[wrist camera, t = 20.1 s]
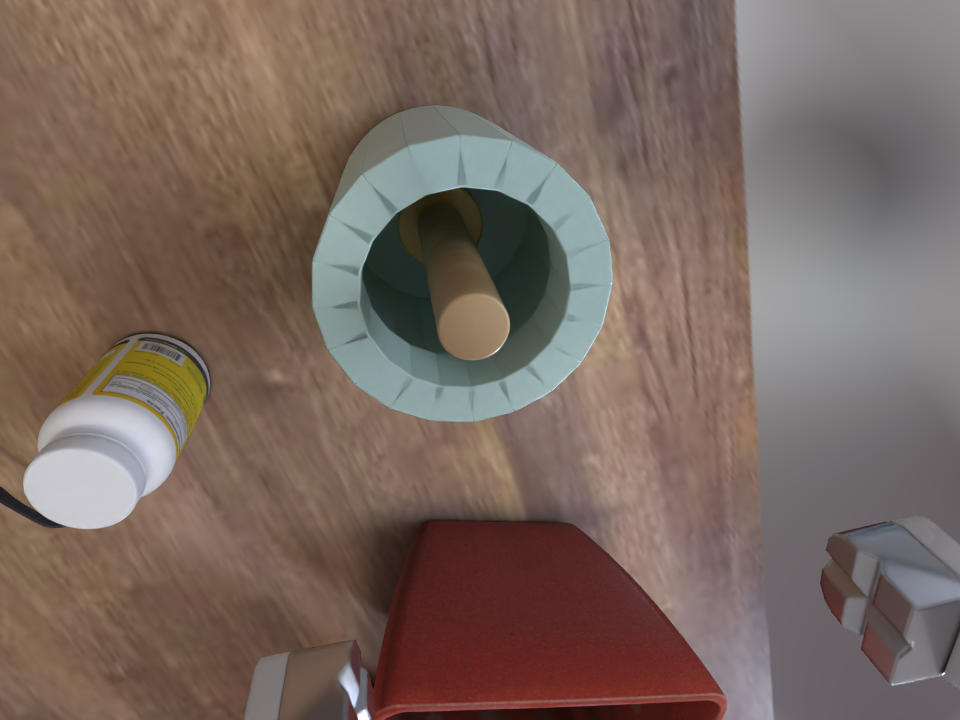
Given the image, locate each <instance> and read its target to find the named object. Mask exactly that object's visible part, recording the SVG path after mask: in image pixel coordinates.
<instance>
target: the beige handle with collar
mask: <svg viewBox="0 0 960 720" xmlns="http://www.w3.org/2000/svg"><path fill="white" fill-rule="evenodd" d="M397 219H398V232H399V236H400V239H401V242H402V244H403V246H404V247H405V249H406V250H407V252H408V253H409V254H410V255H411V256H412V257H414V258H415V259H416V260H418V261H419V262H421V263H423V264H424V265H425V270H426V276H427V281H428V286H429V292H430V297H431V302H432V307H433V313H434V318H435V323H436V329H437V334H438V338H439V341H440V343H441V344H442V346H443V347H444V349H445V350H446V351H447V352H449V353H450V354H451V355H453V356H455V357H457V358H460V359H463V360H480V359H484V358H486V357H489V356H491V355H492V354H494V353H495V352H497V351H498V350H499V349H500V348H501V347H502V345H503V344H504V342H505V341H506V339H507V337H508V334H509V330H510V319H509V315H508V313H507V310H506V308H505V306H504V304H503V302H502V300H501V298H500V296H499V294H498V292H497V289H496V287H495V285H494V283H493V281H492V279H491V277H490V275H489V273H488V271H487V268H486V266H485V264H484V262H483V260H482V258H481V256H480V254H479V252H478V250H477V247H476V246H477V244H478V243H479V240H480V238H481V234H482V227H483V223H482V215H481V212H480V209H479V207H478V205H477V203H476V201H475V200H474V198H473V196H472V195H471V193H470V192H469V190H468V189H467V188H466V187H460V188H455V189H451V190H446V191H442V192H438V193H433V194H429V195H426V196H424V197H422V198H421V199H419V200H417V201H416V202H414V203H412V204H411V205H409V206H408V207H406V208H404V209H403V210H401V211H399V212H398V213H397Z"/></svg>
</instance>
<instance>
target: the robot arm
mask: <svg viewBox="0 0 960 720" xmlns="http://www.w3.org/2000/svg"><path fill="white" fill-rule="evenodd" d="M826 551H827V552H828V553H829V554H830V556H831V557H832V559H831V560H830V561H829V562H828V563H827V564H826V565H825V567H824V568H823V569H822V574H821V581H820V584H821V588H822V592H823V595H824V599H825V601H826V603H827V605H828V606H829V608H830V610H831V612H832V613H833V615H834V616H835V617H836V618H837V620H838V621H839V622H840V623H841V625H842V626H845V627H846V628H848V629H850V630H852V631H854V632H856V633H858V634H859V635H860V644H861V650H862V651H863V652H864V653H865V655H866V656H867V657H868V658H869V659H870V661H871V662H872V663H873V664H874V666H875V667H876V668H877V669H878V670H879V672H880V673H881V674H882V675H883V677H884V678H885V679H886V680H887V682H888V683H889V684H890V685H891V686H893V685H897V684H902V683H907V682H912V681H917V680H922V679H927V678H931V677H937V676H942V675H943V677H942V679H944V680H945V681H947V682H948V683H950V684H952V685H953V686H955V687H956V688H958V689H960V545H959V544H958V543H957V542H956V541H954V540H953V539H952V538H951V537H950V536H949V535H947V534H946V533H945V532H944V531H942V529H940V528H939V527H938V526H937V525H935V524H934V523H933V522H932V521H931V520H929V519H927V518H925V517H922V516H920V515H918V516H913V517H908V518H903V519H900V520H895V521H890V522H882V523H878V524H874V525H869V526H865V527H861V528H857V529H852V530H849V531H844V532H840V533H835V534H833V535H832V536H831V537H830V538H829V539H828V543H827V547H826ZM244 720H375V705H374V695H373V689H372V684H371V680H370V677H369V674H368V671H367V669H365V668H363V667H361V651H360V649H359V646H358V644H357V641H356V639H355V640H349V641H344V642H338V643H333V644H328V645H323V646H317V647H312V648H307V649H301V650H296V651H291V652H286V653H281V654H277V655H272V656H267V657H262V658H260V659H259V661H258V663H257V665H256V667H255V669H254V673H253V678H252V682H251V687H250V692H249V696H248V701H247V706H246V710H245V715H244Z"/></svg>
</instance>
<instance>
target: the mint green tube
mask: <svg viewBox="0 0 960 720" xmlns="http://www.w3.org/2000/svg"><path fill="white" fill-rule="evenodd" d="M460 187H466V188H467V189H468V190H469V192H470V193H471V195H472V196H473V198H474V200H475V201H476V203H477V205H478V207H479V209H480V212H481V215H482V223H483V227H482V234H481V238H480V240H479V243H478V244H477V246H476V247H477V250H478V252H479V254H480V256H481V258H482V260H483V262H484V264H485V266H486V268H487V271H488V273H489V275H490V277H491V279H492V281H493V283H494V285H495V287H496V289H497V292H498V294H499V296H500V298H501V300H502V302H503V304H504V306H505V308H506V310H507V313H508V315H509V319H510V330H509V334H508V337H507V339H506V341H505V342H504V344H503V345H502V347H501V348H500V349H499V350H498V351H497V352H495V353H494V354H492V355H491V356H489V357H486V358H484V359H480V360H463V359H460V358H457V357H455V356H453V355H451V354H450V353H449V352H447V351H446V350H445V349H444V347H443V346H442V344H441V343H440V341H439V338H438V334H437V329H436V323H435V318H434V313H433V307H432V302H431V297H430V292H429V286H428V281H427V276H426V270H425V265H424V264H423V263H421V262H419V261H418V260H416V259H415V258H414V257H412V256H411V255H410V254H409V253H408V252H407V250H406V249H405V247H404V246H403V244H402V242H401V239H400V236H399V232H398V219H397V213H398V212H399V211H401V210H403V209H404V208H406V207H408V206H409V205H411V204H412V203H414V202H416V201H417V200H419V199H421V198H422V197H424V196H426V195H429V194H433V193H438V192H442V191H446V190H451V189H455V188H460ZM589 197H590V196H589V195H588V194H587V193H586V192H585V191H584V190H583V189H582V188H581V187H580V186H579V184H578V183H577V182H576V181H575V180H574V179H573V178H572V177H571V176H570V175H569V174H568V173H567V172H566V171H565V170H564V169H563V168H562V167H561V166H560V165H559V164H558V163H557V162H555V161H554V160H552V159H551V158H549V157H547V156H546V155H544V154H543V153H541V152H539V151H538V150H536V149H535V148H533V147H531V146H530V145H528V144H527V143H525V142H523V141H522V140H520V139H519V138H517V137H515V136H514V135H512V134H510V133H509V132H507V131H506V130H504V129H502V128H501V127H499V126H498V125H496V124H494V123H492V122H490V121H488V120H486V119H484V118H482V117H480V116H479V115H477V114H475V113H472V112H470V111H468V110H465V109H460V108H456V107H451V106H442V105H429V106H420V107H415V108H410V109H407V110H404V111H401V112H399V113H396V114H394V115H392V116H390V117H388V118H387V119H385V120H383V121H382V122H380V123H379V124H378V125H376V126H375V127H374V128H372V129H371V130H370V131H369V132H368V133H367V134H366V135H365V136H364V137H363V139H362V140H361V141H360V142H359V144H358V145H357V146H356V148H355V149H354V151H353V153H352V154H351V155H350V156H349V158H348V161H347V163H346V166H345V169H344V172H343V175H342V177H341V180H340V183H339V186H338V189H337V191H336V194H335V197H334V200H333V203H332V205H331V208H330V211H329V214H328V216H327V219H326V222H325V225H324V228H323V231H322V233H321V236H320V239H319V242H318V245H317V247H316V250H315V253H314V256H313V260H312V307H313V312H314V314H315V317H316V320H317V323H318V326H319V328H320V331H321V334H322V337H323V340H324V342H325V345H326V348H327V349H328V352H329V353H330V354H331V355H332V357H333V358H334V359H335V360H336V362H337V363H338V364H339V366H340V367H341V368H342V369H343V371H344V372H345V373H346V374H347V376H348V377H349V378H350V379H351V381H352V382H353V383H354V384H355V385H356V386H357V387H359V388H360V389H362V390H363V391H364V392H366V393H367V394H369V395H370V396H372V397H373V398H375V399H376V400H378V401H379V402H381V403H382V404H384V405H385V406H387V407H388V408H391V409H393V410H397V411H400V412H403V413H406V414H409V415H413V416H416V417H419V418H422V419H426V420H429V421H430V420H431V421H450V422H472V421H473V422H475V421H479V420H483V419H488V418H492V417H496V416H500V415H504V414H508V413H512V412H513V411H517V410H518V409H520V408H522V407H524V406H526V405H528V404H529V403H531V402H533V401H535V400H537V399H539V398H540V397H542V396H544V395H546V394H548V393H549V392H550V391H552V390H553V389H554V388H555V387H557V386H558V385H559V384H560V383H561V382H562V381H563V380H564V379H565V378H566V377H567V376H568V375H569V374H570V373H571V372H572V371H573V370H574V369H575V368H576V367H577V366H578V365H579V364H580V363H581V361H583V359H584V357H585V355H586V354H587V352H588V350H589V348H590V347H591V345H592V343H593V342H594V340H595V338H596V336H597V335H598V333H599V331H600V329H601V328H602V324H603V322H604V318H605V313H606V309H607V305H608V301H609V296H610V292H611V288H612V283H613V277H612V266H611V254H610V243H609V239H608V235H607V233H606V231H605V229H604V227H603V224H602V222H601V220H600V218H599V215H598V213H597V211H596V209H595V207H594V204H593V202H592V200H591V198H589Z"/></svg>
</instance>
